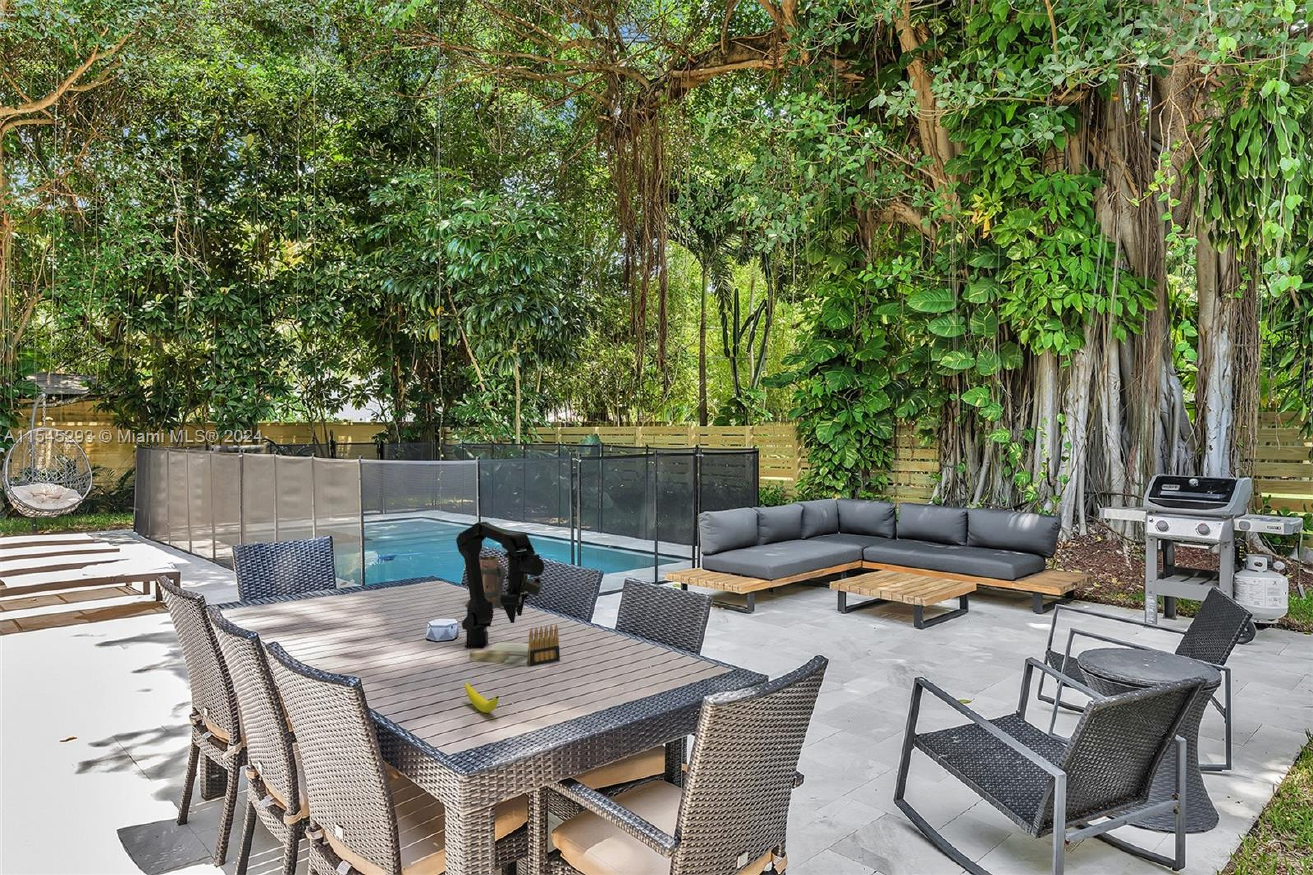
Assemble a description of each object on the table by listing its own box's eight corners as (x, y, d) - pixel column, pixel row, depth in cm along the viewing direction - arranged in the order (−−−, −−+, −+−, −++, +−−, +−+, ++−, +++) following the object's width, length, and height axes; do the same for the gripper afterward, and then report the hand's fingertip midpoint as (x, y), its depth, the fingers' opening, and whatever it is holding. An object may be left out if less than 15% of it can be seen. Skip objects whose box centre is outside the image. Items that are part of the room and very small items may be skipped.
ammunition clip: (529, 666, 242) (529, 628, 242) (527, 665, 244) (527, 627, 243) (559, 661, 248) (560, 624, 248) (557, 659, 250) (557, 623, 249)
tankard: (457, 605, 324) (457, 558, 324) (489, 598, 337) (489, 553, 337) (491, 614, 309) (492, 564, 309) (524, 606, 322) (524, 559, 322)
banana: (470, 699, 213) (470, 676, 213) (503, 719, 198) (503, 695, 198) (460, 701, 211) (460, 678, 211) (492, 722, 196) (492, 697, 196)
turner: (468, 663, 246) (468, 654, 246) (474, 657, 252) (474, 648, 251) (525, 665, 243) (525, 656, 243) (530, 660, 249) (531, 650, 249)
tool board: (488, 653, 256) (488, 650, 256) (496, 645, 265) (496, 642, 265) (552, 656, 253) (552, 652, 253) (559, 648, 262) (559, 644, 262)
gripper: (534, 578, 242) (533, 627, 242) (546, 567, 260) (546, 612, 260) (499, 577, 242) (499, 626, 243) (514, 566, 261) (514, 611, 261)
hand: (516, 619), depth 252 cm, fingers open, 9 cm apart
